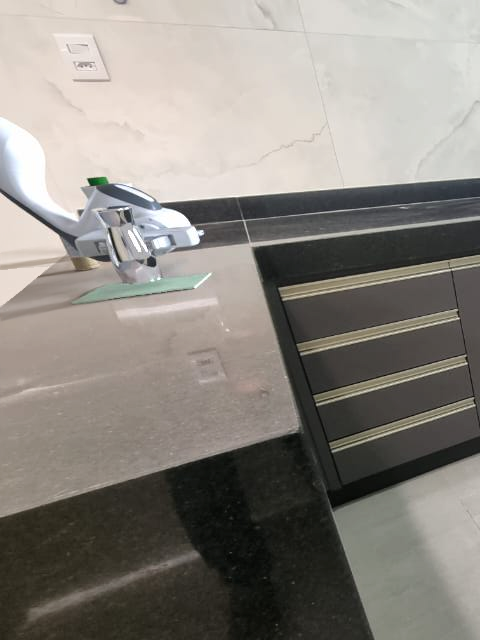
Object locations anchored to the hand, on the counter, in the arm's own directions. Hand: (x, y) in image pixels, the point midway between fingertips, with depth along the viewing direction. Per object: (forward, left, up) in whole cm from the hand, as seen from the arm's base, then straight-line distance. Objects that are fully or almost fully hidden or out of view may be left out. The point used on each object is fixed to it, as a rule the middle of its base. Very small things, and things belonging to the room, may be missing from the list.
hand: (127, 247), depth 109 cm
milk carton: (-20, +58, -9) cm, 62 cm away
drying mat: (0, +1, -9) cm, 9 cm away
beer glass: (0, 0, +8) cm, 8 cm away
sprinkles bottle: (-22, +34, -9) cm, 41 cm away
